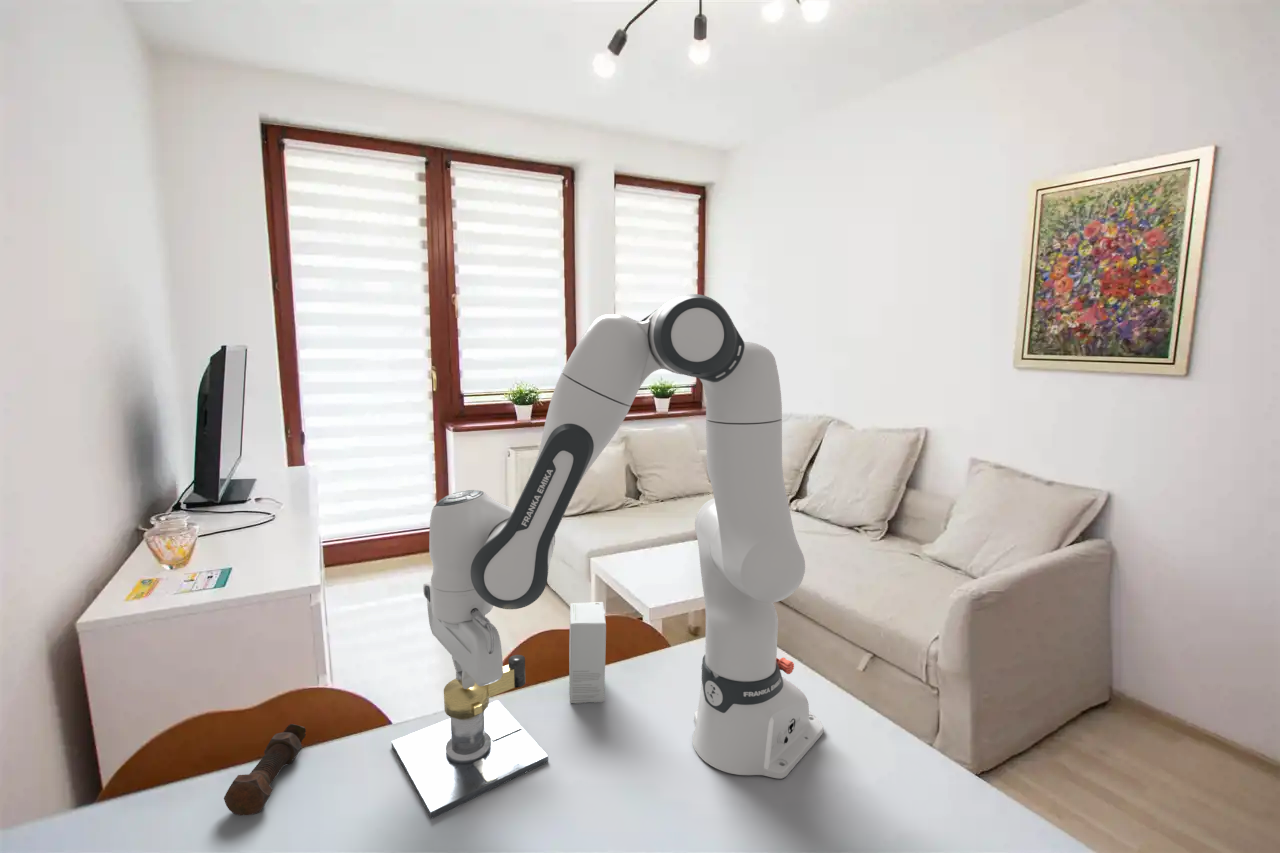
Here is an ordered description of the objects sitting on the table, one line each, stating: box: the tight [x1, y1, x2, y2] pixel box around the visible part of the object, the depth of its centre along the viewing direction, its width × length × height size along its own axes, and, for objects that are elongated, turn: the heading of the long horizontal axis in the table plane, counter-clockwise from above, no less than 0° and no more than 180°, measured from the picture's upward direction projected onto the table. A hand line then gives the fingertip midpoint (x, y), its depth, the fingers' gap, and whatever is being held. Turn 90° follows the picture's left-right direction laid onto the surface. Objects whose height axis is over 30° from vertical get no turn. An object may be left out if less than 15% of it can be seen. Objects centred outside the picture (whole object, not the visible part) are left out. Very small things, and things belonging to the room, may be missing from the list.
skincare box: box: [568, 601, 607, 704], centre depth 109 cm, size 8×7×16 cm
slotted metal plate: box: [391, 699, 549, 819], centre depth 93 cm, size 18×18×8 cm
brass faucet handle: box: [443, 654, 526, 719], centre depth 94 cm, size 13×9×5 cm
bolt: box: [223, 723, 307, 816], centre depth 88 cm, size 6×5×15 cm
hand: (465, 683), depth 92 cm, fingers closed
